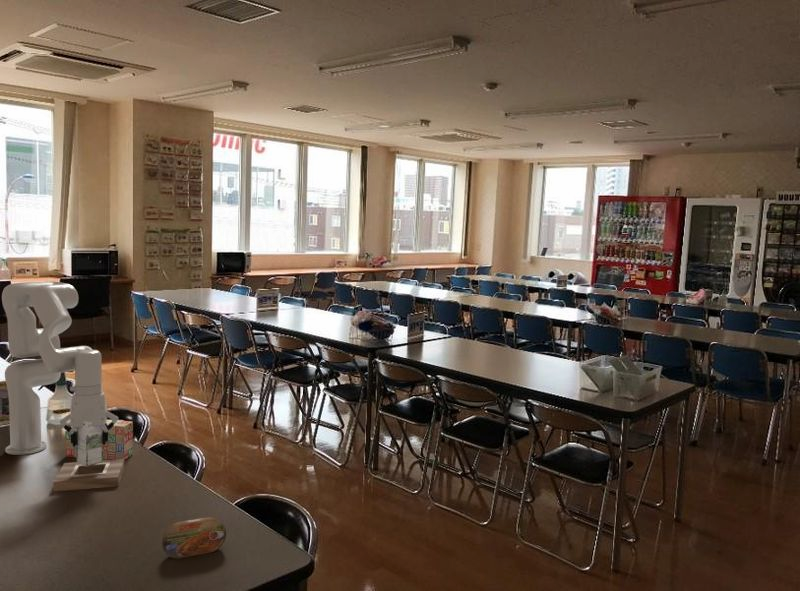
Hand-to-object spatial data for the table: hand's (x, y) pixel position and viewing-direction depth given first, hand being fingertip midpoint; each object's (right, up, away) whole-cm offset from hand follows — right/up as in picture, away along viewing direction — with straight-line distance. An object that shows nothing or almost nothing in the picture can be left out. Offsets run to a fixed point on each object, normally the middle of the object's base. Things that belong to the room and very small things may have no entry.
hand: (89, 444), depth 204 cm
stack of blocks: (-7, -9, +22) cm, 25 cm away
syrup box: (0, -6, +1) cm, 6 cm away
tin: (+46, -17, -43) cm, 66 cm away
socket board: (0, -11, +1) cm, 11 cm away
